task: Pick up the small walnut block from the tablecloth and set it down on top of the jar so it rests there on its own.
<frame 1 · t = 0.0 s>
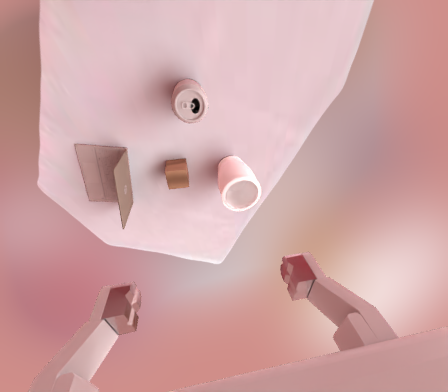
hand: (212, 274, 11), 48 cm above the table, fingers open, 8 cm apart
laptop: (108, 174, 57), on the table
walnut block: (177, 167, 59), on the table
jar: (230, 167, 62), on the table
can: (189, 96, 49), on the table
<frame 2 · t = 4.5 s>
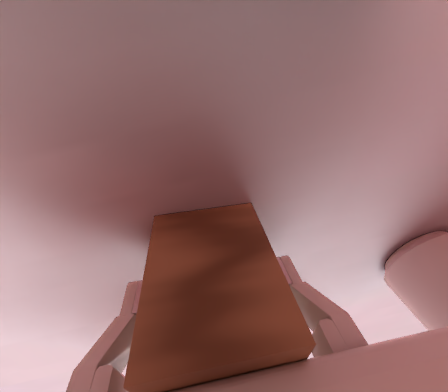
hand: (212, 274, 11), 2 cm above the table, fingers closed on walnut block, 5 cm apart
walnut block: (208, 241, 13), on the table, touching gripper
can: (414, 252, 19), on the table
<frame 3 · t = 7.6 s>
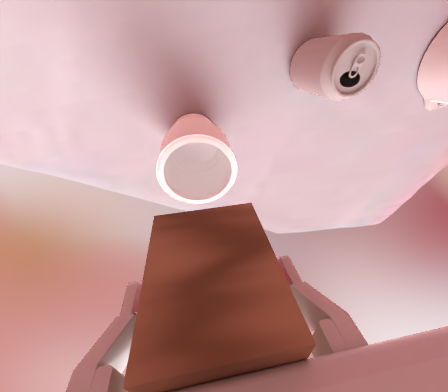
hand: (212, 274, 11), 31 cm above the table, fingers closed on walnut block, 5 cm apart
walnut block: (208, 242, 13), point 29 cm above the table, touching gripper
jar: (194, 135, 38), on the table
can: (307, 66, 34), on the table
when the fingers open (19 cm above the table, at t = 11.1 s): walnut block drops 1 cm, resting on jar.
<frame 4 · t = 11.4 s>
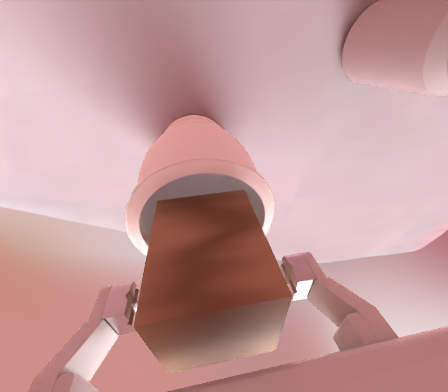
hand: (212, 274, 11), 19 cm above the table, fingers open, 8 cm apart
walnut block: (205, 226, 14), point 15 cm above the table, touching jar
jar: (195, 146, 26), on the table, touching walnut block
can: (367, 45, 23), on the table
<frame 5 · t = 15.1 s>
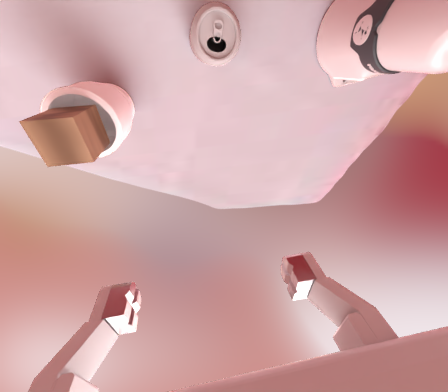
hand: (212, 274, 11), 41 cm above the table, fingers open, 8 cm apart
walnut block: (83, 126, 29), point 15 cm above the table, touching jar
jar: (113, 105, 41), on the table, touching walnut block
can: (209, 40, 38), on the table
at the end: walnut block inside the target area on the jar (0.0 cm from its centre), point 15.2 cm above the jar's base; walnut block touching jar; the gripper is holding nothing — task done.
